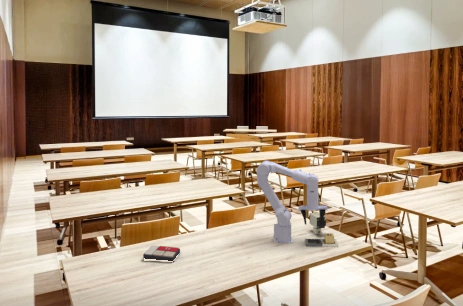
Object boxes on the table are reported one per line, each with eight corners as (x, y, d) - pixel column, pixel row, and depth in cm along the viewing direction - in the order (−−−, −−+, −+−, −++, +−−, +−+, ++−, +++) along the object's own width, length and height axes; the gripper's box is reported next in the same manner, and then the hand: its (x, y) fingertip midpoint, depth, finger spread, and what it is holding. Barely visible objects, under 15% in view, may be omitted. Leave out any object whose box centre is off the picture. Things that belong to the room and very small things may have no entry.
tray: (306, 247, 189) (306, 244, 189) (304, 241, 196) (304, 238, 195) (338, 247, 188) (338, 244, 187) (335, 241, 194) (335, 238, 194)
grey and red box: (172, 256, 174) (142, 253, 176) (172, 265, 174) (142, 261, 177) (180, 247, 184) (151, 244, 187) (180, 255, 185) (151, 252, 188)
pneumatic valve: (318, 238, 200) (318, 216, 198) (308, 230, 211) (308, 210, 209) (327, 236, 201) (327, 215, 200) (317, 229, 213) (317, 209, 211)
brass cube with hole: (325, 245, 189) (325, 235, 188) (324, 242, 193) (324, 232, 192) (334, 245, 189) (334, 236, 188) (332, 242, 193) (332, 232, 192)
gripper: (299, 200, 187) (299, 226, 189) (328, 200, 186) (328, 226, 188) (297, 197, 194) (298, 222, 196) (325, 196, 193) (326, 221, 195)
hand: (312, 223), depth 192 cm, fingers open, 7 cm apart
